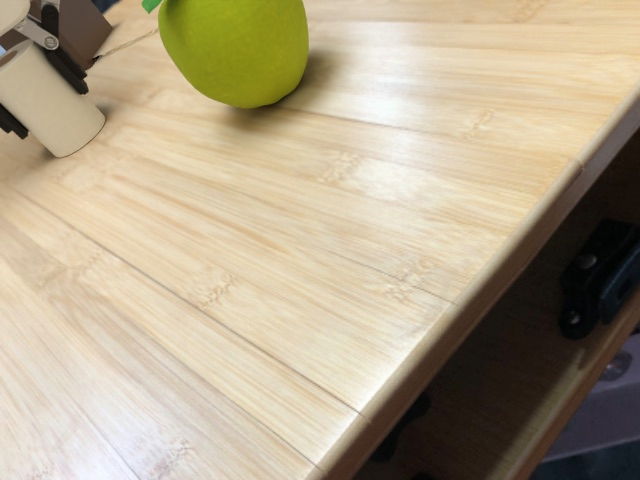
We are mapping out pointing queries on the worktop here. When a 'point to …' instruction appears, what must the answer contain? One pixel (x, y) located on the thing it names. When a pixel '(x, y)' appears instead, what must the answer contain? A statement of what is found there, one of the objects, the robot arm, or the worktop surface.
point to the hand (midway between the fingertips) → (53, 109)
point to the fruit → (236, 46)
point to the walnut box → (70, 29)
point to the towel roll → (46, 100)
